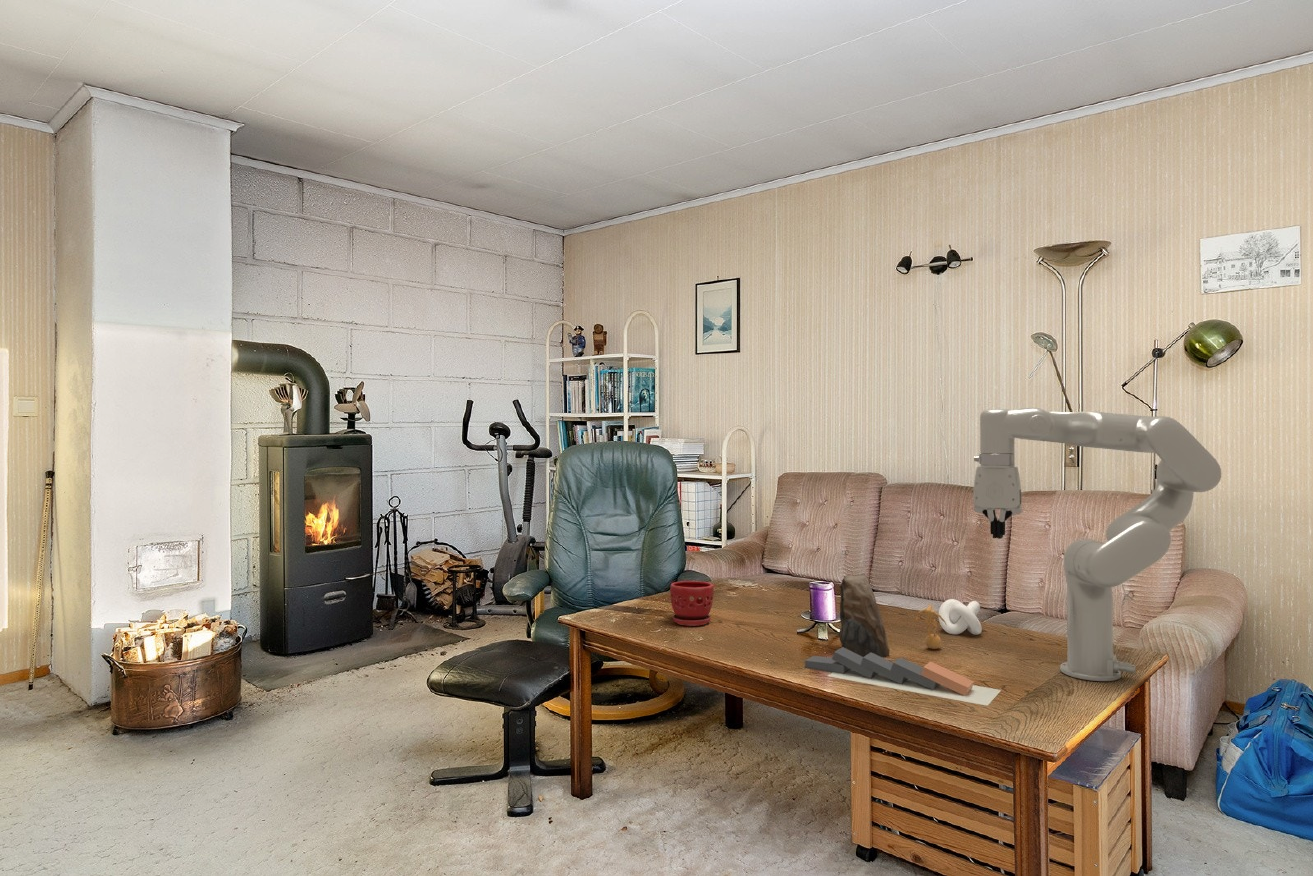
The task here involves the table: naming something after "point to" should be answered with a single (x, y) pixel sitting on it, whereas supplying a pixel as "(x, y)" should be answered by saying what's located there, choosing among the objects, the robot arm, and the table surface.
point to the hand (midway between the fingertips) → (997, 537)
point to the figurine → (933, 639)
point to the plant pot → (691, 602)
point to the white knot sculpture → (960, 617)
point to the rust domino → (947, 678)
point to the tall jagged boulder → (861, 618)
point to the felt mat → (923, 688)
